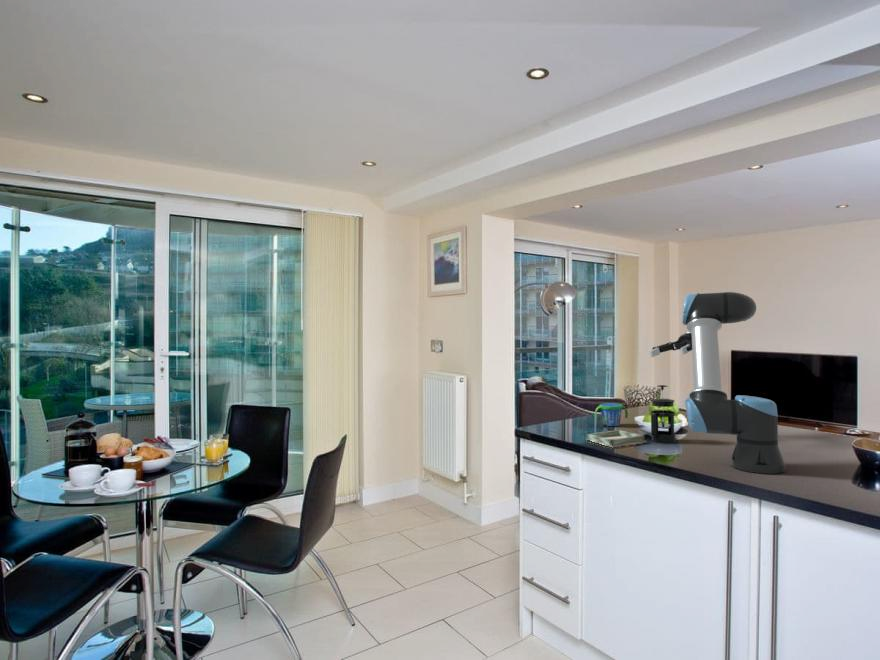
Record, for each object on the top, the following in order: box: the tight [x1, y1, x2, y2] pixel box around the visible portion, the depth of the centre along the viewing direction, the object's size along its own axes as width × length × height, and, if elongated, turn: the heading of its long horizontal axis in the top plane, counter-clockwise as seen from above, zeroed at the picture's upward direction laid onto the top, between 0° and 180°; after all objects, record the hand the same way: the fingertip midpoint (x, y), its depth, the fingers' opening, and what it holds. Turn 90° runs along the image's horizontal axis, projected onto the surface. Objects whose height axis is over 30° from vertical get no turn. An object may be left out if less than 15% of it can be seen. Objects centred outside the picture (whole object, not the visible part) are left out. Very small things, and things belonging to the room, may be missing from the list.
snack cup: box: [594, 402, 629, 427], centre depth 245 cm, size 16×10×10 cm
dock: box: [584, 429, 647, 449], centre depth 210 cm, size 16×18×3 cm
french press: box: [650, 384, 677, 444], centre depth 210 cm, size 12×9×23 cm
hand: (666, 353), depth 211 cm, fingers open, 13 cm apart
